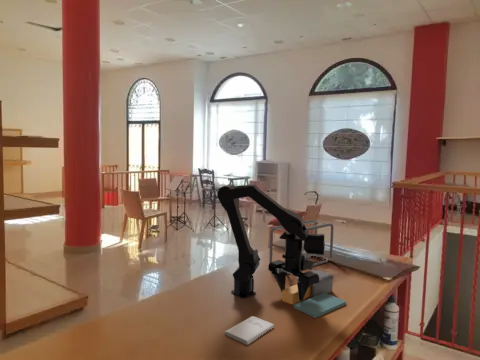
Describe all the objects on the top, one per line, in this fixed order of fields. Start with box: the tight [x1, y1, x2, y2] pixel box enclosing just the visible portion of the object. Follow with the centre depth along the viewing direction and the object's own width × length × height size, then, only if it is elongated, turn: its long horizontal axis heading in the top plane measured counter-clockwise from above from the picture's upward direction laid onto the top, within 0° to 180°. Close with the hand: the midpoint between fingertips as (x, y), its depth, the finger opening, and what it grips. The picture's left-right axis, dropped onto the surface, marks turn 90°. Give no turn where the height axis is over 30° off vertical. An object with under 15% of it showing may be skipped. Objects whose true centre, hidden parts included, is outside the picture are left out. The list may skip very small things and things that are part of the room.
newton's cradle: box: [268, 219, 334, 275], centre depth 164 cm, size 30×10×18 cm, turn 129°
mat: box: [293, 293, 347, 319], centre depth 124 cm, size 16×9×1 cm, turn 129°
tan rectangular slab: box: [281, 283, 312, 305], centre depth 130 cm, size 13×4×4 cm, turn 134°
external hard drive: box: [224, 315, 275, 346], centre depth 107 cm, size 2×8×12 cm
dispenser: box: [295, 269, 334, 298], centre depth 135 cm, size 11×8×6 cm
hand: (291, 296), depth 128 cm, fingers open, 8 cm apart
